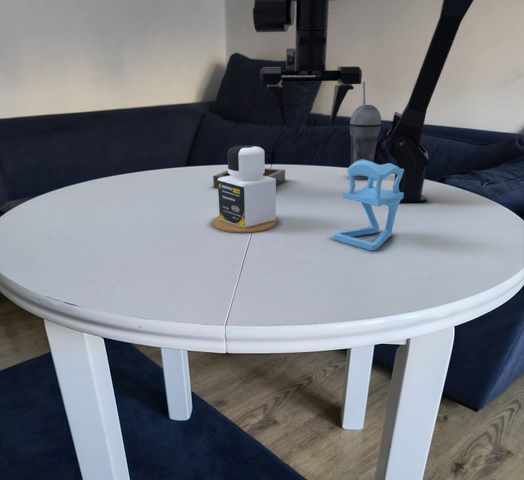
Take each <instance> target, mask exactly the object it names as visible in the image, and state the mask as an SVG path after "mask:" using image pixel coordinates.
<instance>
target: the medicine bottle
mask: <svg viewBox="0 0 524 480" xmlns="http://www.w3.org/2000/svg"><path fill="white" fill-rule="evenodd" d="M226 153H227V170H228V173H229V174H230V176H226V177H220V178H218V188H217V193H218V196H217V197H218V212H219V213H218V214H219V216H220V220H222V221H225V222H228V223H231V224H234V225H236V226H239V227H242V228H248V227H252V226H256V225H260V224H264V223H267V222H271V221H275V219H276V220H277V217H276V215H277V210H276V209H277V205H276V204H277V186H276V179H275V178H272V177H267V176H263V173H265V168H266V167H265V166H266V165H265V164H266V163H265V159H266V158H265V157H266V156H265V150H264V149H263V148H262V147H261V146H259V145H253V144H252V145H250V144H249V145H248V144H247V145H246V144H244V145H234V146H232V147H230V148H229V149H228V150H227V152H226Z"/></svg>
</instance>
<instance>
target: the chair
mask: <svg viewBox="0 0 524 480" xmlns="http://www.w3.org/2000/svg"><path fill="white" fill-rule="evenodd" d="M346 171H347V176H348V181H349V186H348V187H349V188H348V190H347V191H345V192H342V200H347V201H353V202H354V201H355V202H360V203H361V205H362V207H363V209H364V211H365V213H366V216H367V219H368V221H369V223H370V226H366V227H361V228H355V229H349V230H343V231H337V232H335V233H333V240H335V241H338V242H341V243H345V244H348V245H351V246H355V247H358V248H362V249H365V250H368V251H373V252H374V251H376V250H377V249H379V248H380V247H381V246H382V245H384V243H385V241H387V240H388V239H389V238H390V237H391V236H392V235H393V228H394V223H395V219H396V215H397V211H398V208H399V205H400V203H401V202H400V200H401V199H403V195H404V193H402V192H399V182H400V180H401V177H402V175H403V172H404V169H400V168H399V167H397V166H396V165H395V164H394V163H390V162H389V163H383V164H378V163H375V162H374V161H373V162H371V161H367V160H365V159H361V160H359V161H357V162H355V163H353V164H352V165H351V164H350V166H349V167H347V169H346ZM392 174H394V175H395V174H397V178H396V180H395V182H394V181H393V184H392V190H388V189H384V188H383V189H382V183H383V181H384V180H385V179H387V177H389V176H390V175H392ZM353 176H367V177H369V178H368V179H367V186H363V187H361V188H359V189H356V181H355V179H354V178H353ZM374 181H376V184H375V186H374ZM372 206H374V207H381V206H387V207H388V213H387V219H386V223H385V228H384V230H383V231H382V232H381V233H380V234H378V236H377V238H375V240H374V241H373V242H371V241H367V240H363V239H359V238H356V237H361V236H365V235H366V236H367V235H371V234H372V235H373V234H376V233H379V232H380V226H379V223H378V221H377V217H376V216H375V212H374V209H373V207H372Z"/></svg>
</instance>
